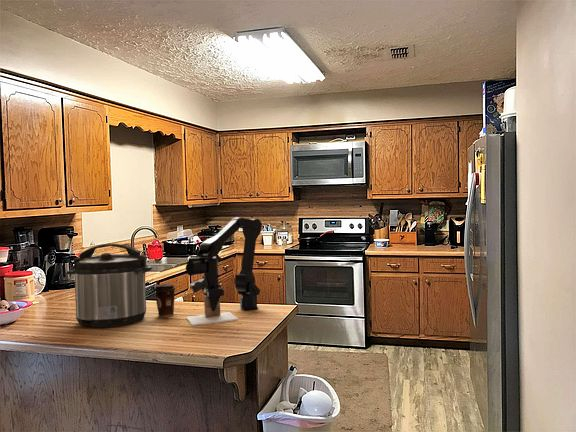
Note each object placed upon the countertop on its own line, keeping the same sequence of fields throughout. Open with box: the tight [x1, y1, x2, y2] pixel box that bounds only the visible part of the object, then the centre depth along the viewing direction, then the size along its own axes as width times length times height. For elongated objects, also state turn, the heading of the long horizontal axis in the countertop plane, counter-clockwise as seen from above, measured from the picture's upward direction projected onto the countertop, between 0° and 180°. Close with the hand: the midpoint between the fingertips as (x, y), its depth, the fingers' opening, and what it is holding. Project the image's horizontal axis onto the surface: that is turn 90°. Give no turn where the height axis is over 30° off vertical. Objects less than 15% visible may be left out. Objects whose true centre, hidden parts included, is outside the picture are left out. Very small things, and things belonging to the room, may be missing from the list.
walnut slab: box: [203, 295, 221, 317], centre depth 194 cm, size 6×2×8 cm, turn 111°
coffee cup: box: [153, 283, 176, 318], centre depth 202 cm, size 9×8×13 cm
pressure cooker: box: [66, 243, 153, 328], centre depth 196 cm, size 30×28×32 cm
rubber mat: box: [185, 311, 239, 327], centre depth 192 cm, size 18×14×1 cm
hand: (212, 310), depth 194 cm, fingers closed on walnut slab, 2 cm apart
